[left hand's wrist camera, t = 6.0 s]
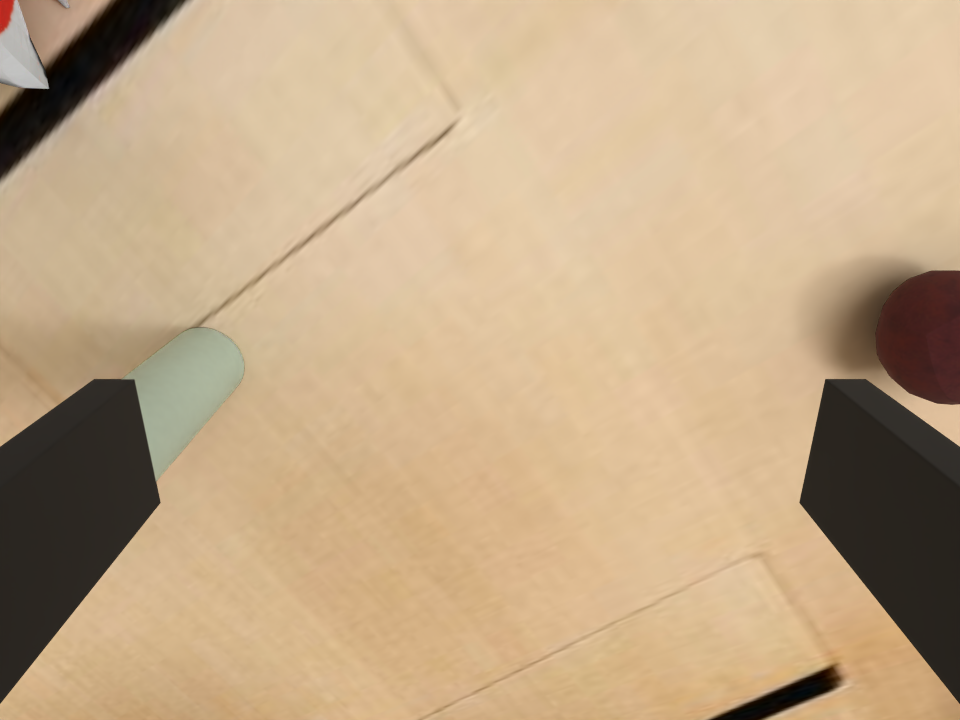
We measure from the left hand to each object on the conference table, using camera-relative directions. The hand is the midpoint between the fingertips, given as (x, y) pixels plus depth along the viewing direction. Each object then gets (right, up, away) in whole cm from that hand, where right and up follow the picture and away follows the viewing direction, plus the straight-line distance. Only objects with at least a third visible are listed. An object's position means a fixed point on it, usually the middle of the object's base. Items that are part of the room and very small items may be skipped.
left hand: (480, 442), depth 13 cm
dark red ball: (+27, +4, +28) cm, 39 cm away
